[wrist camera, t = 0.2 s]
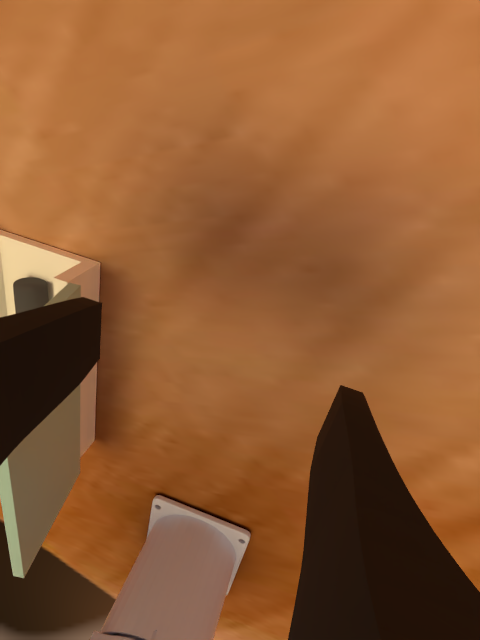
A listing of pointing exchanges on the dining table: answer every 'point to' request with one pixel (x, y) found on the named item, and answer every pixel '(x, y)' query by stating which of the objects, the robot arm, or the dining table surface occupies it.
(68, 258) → the cream piece
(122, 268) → the dining table surface
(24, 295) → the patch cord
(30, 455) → the panel
